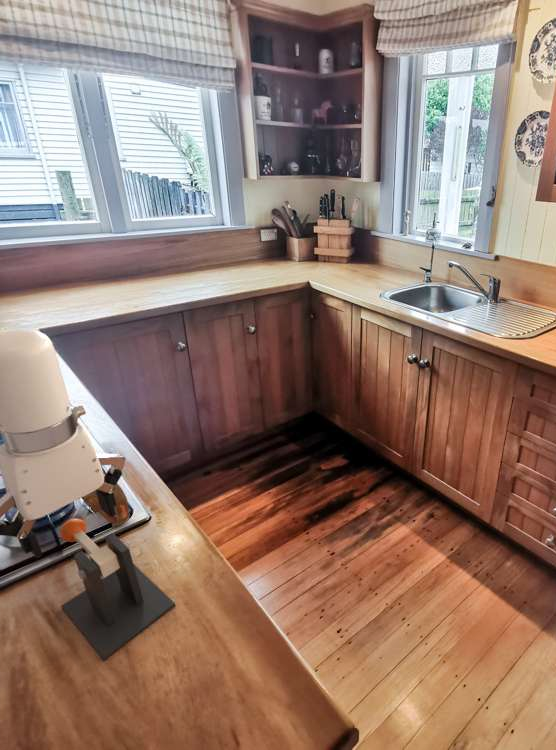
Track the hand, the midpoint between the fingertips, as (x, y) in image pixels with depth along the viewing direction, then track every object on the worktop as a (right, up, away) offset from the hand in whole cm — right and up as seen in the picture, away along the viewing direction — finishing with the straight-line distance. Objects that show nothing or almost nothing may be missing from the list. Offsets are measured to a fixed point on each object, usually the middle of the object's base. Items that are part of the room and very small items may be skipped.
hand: (73, 531), depth 65 cm
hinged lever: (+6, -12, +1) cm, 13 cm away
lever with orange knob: (+3, -3, -1) cm, 4 cm away
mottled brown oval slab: (-6, -3, +18) cm, 19 cm away
